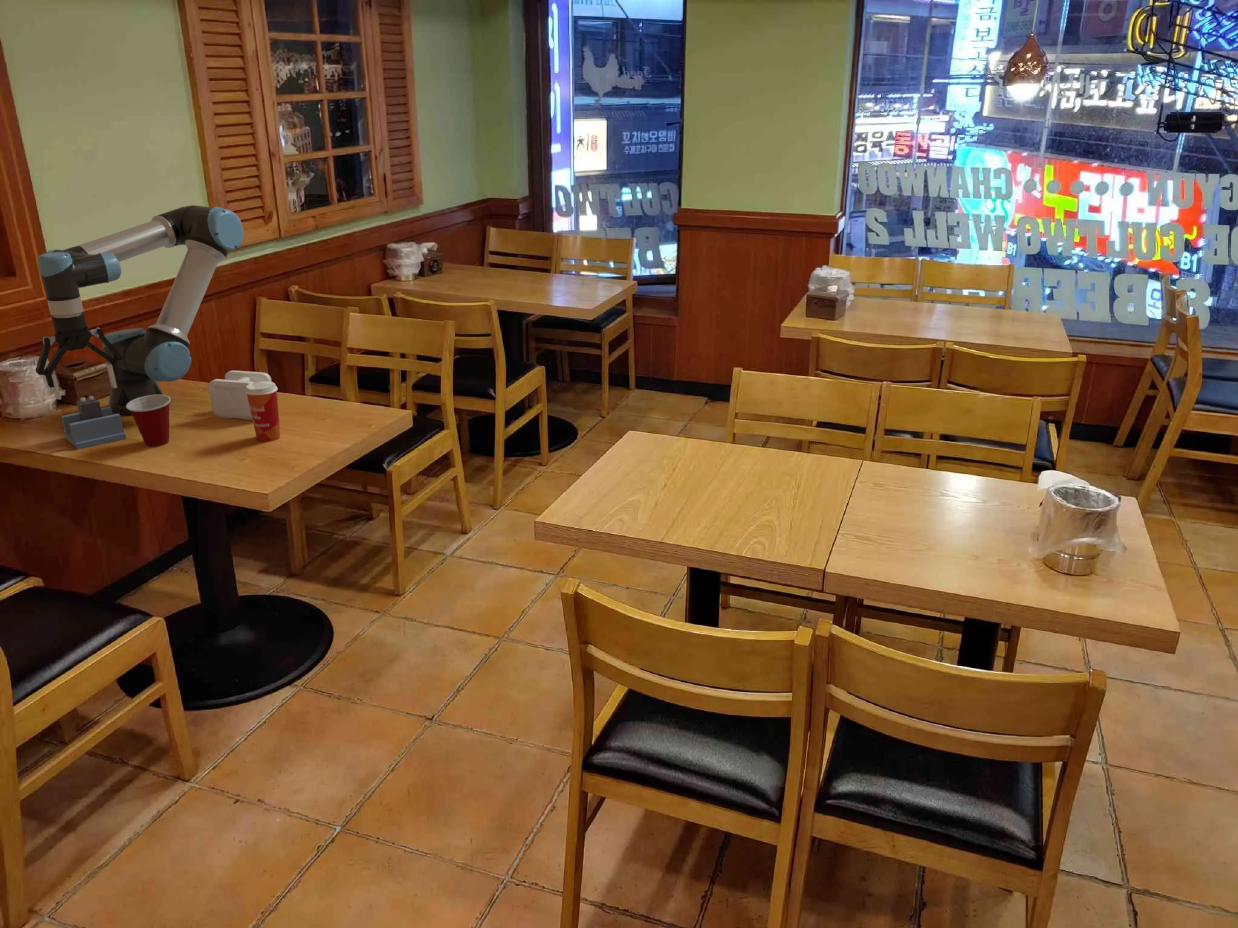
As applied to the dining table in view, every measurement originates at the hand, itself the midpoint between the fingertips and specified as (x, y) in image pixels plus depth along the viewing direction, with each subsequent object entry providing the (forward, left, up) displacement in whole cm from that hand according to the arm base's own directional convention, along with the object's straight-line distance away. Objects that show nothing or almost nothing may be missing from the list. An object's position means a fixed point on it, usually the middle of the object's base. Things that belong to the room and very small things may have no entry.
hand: (86, 392), depth 246 cm
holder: (0, 0, -13) cm, 13 cm away
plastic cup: (-11, +15, -13) cm, 23 cm away
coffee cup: (-35, +31, -13) cm, 48 cm away
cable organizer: (-38, +8, -13) cm, 41 cm away
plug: (0, 0, -11) cm, 11 cm away
